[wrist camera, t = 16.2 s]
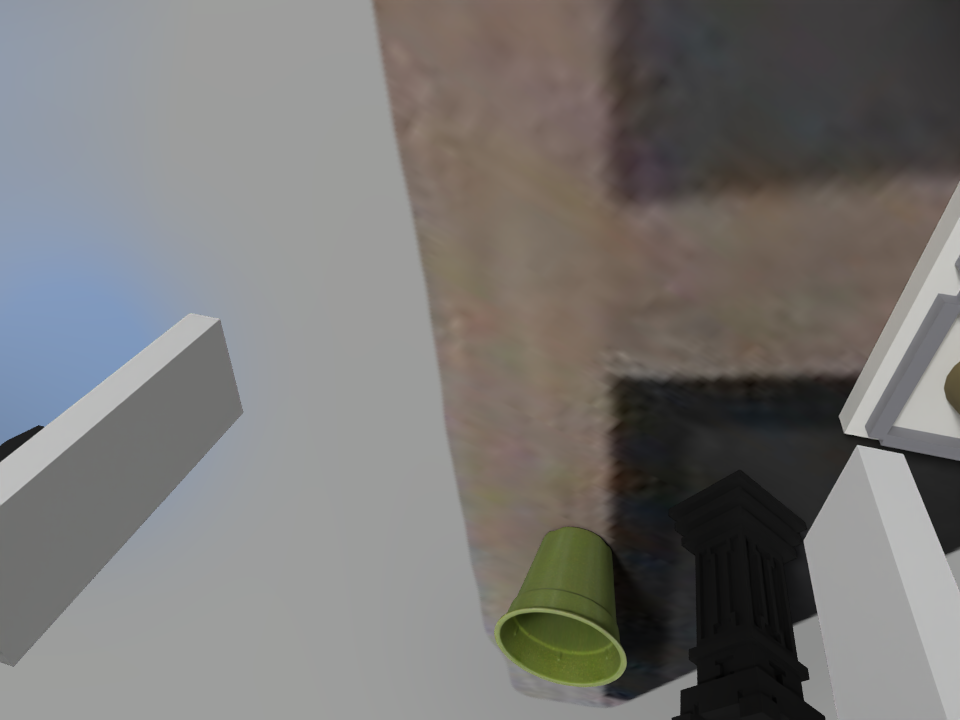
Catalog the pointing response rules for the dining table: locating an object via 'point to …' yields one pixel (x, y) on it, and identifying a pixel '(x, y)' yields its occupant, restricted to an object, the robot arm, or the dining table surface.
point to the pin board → (916, 356)
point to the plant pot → (566, 613)
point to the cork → (953, 387)
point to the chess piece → (742, 605)
